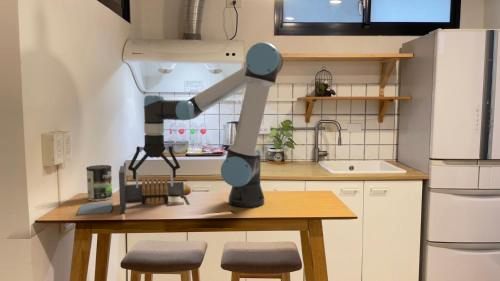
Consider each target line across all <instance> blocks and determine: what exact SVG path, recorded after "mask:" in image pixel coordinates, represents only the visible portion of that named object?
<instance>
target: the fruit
mask: <svg viewBox="0 0 500 281" xmlns="http://www.w3.org/2000/svg"><path fill="white" fill-rule="evenodd" d="M183 185H184V196H187V195H190V194H191V193H192V192H191V190H192V189H191V187H190V186H189V184H187V183H185V182H183Z"/></svg>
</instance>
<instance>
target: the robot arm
mask: <svg viewBox="0 0 500 281" xmlns="http://www.w3.org/2000/svg"><path fill="white" fill-rule="evenodd" d="M283 66H284V59H283V55H282V53H281V52H280V51H279V50H278V49H277V47H276V46H275V45H273V44H272V43H270V42H256V43H255V44H253V45H252V46H251V47H250V48H249V49H248V51H247V52H246V56H245V66H244V67H242V68H241V69H239V70H237V71H235V72H233V73H232V74H230V75H228V76H226V77H225V78H223V79H222V80H220V81H219V82H216V83H215V84H212V85H211V86H210V87H208V88H205V89H204V90H203V91H201V92H200V93H198V94H196V95H194V96H193V97H190V98H189V99H187V100H165V99H164V96H163V95H156V94H155V95H148V94H146V95H145V96H144V99H143V102H144V103H143V111H144V112H143V115H144V116H143V117H144V118H143V119H144V126H143V127H144V129H143V130H144V131H143V132H144V134H145V135H143V136H144V146H136V148H135V149H136V150H135V153H134V155H133V157H132V159H131V161H130V163H129V165H128V166H127V170H128V171H131V172H132V180H135V184H136V188H138V184H139V170H138V169H139V168H140V167H141V166H142V165H143V163H144V162H145V161H146V160H147V159H148V158H150V159H151V158H160V157H161V158H162V159H163V160H164V162H166V164H167V165H168V166H169V167H170V170H169V171H170V182H171V186H173V182H174V179H175V178H176V175H177V174H176V171H177V170H178V169H181V165H180V164H179V161H178V160H177V158H176V156H175V154H174V152H173V147H172V146H171V145H168V146H167V145H166V146H165V138H164V137H165V135H164V133H165V131H164V130H165V127H164V126H165V123H164V122H165V120H167V121H169V120H170V121H171V120H172V121H173V120H174V121H190V120H194V119H196V118H198V117H199V116H200V115H201V114H202V113H204V112H206V111H207V110H209V109H211V108H213V107H214V106H216V105H218V104H220V103H221V102H223V101H225V100H227V99H228V98H230V97H232V96H234V95H236V94H237V93H239V92H241V91H242V90H244V89H245V91H244V96H243V99H242V104H241V109H240V114H239V117H238V121H237V126H236V130H235V135H234V140H233V143H232V144H231V145H230V146H228V148H227V153H226V157H225V160H223V162H222V164H221V166H220V175H221V178H222V179H223V181H224V182H225V183H226V184H227V185H229V186H231V189H230V191H229V194H228V204H229V205H230V206H233V207H238V208H254V207H260V206H263V205H264V204H265V195H264V192H263V190H262V189H263V188H262V186H261V158H262V156H261V151H260V150H259V149H258V148H256V147H257V143H258V139H259V136H260V130H261V126H262V124H263V123H262V122H263V118H264V114H265V113H264V112H265V110H266V105H267V100H268V96H269V92H270V89H271V87H272V86H274V85H275V84H276V80H277V76H278V74H279V73H280V72H281V70H282V68H283ZM142 151H143V152H144V153H145V154H144V155H143V156H142V157H141V159H140V160H139V161H138V162H137V163H136V165H135V162H136V160H137V158H138V157H139V155H140V153H141V152H142ZM165 151H167V153H169V155H170V156H171V158H172V160H173V162H174V164H173V163H172V162H171V161H170V160H169V159H168V157H167V156H166V155H165V154H164V152H165ZM134 165H135V166H134Z"/></svg>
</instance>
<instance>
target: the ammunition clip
mask: <svg viewBox="0 0 500 281" xmlns="http://www.w3.org/2000/svg"><path fill="white" fill-rule="evenodd" d="M164 178H165V179H163V177H160V180H159V179H158V178H157V177H156V178H155V181H154V177H152V178H151V180H150V178H149V177H147V179H146V180H145V177H143V178H142V182H141V184H142V201H141V205H158V204H159V205H161V204H162V205H163V204H166V205H167V203H168V184H167V182H168V178H167V177H164ZM163 180H164V182H163ZM150 181H151V182H150ZM150 183H151V194H150ZM154 183H156V185H155V187H154ZM158 183H160V194H159V184H158ZM163 183H165V184H164V187H163ZM145 184H147V187H145ZM159 198H160V199H159Z"/></svg>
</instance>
